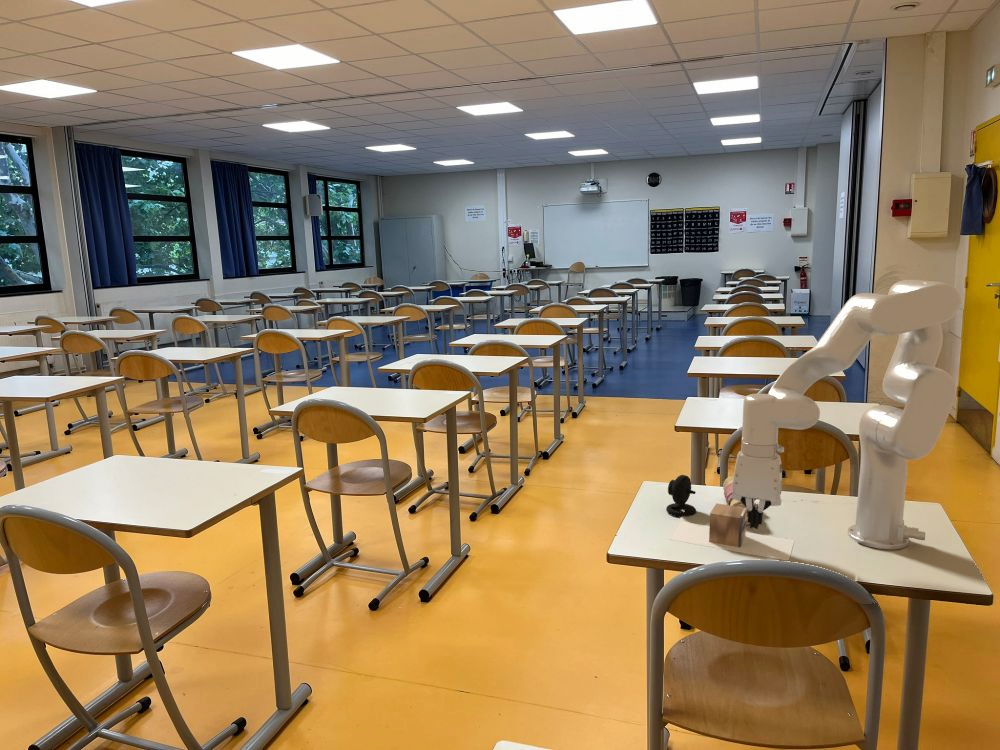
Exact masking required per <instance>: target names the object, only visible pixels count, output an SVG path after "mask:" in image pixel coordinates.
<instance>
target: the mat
mask: <svg viewBox="0 0 1000 750" xmlns="http://www.w3.org/2000/svg"><path fill="white" fill-rule="evenodd" d="M709 529H710V525H707V524H705V525H704V524H700V523H693V522H688V521H687V522H686V521H681V523H680V524H679V525H678V527H677V528H676V530H675V531H674V532H673V534H672V535H671V537H670V538H669V540H670V541H675V542H681V543H687V544H693V545H698V546H704V547H709V548H713V549H714V548H715V549H721V550H727V551H731V552H736V553H737V552H738V553H741V554H748V555H754V556H759V557H764V558H768V559H769V558H770V559H776V560H780V559H781V560H782V561H786V560H789V561H790V558H791V554H792V550H793V547H794V543H795V539H788V538H784V537H777V536H772V535H765V534H760V533H754V532H747V531H746V536H745V538H744V541H743V543H742V545H741V547H735V546H729V545H724V544H718V543H712V542H709Z"/></svg>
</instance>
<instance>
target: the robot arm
mask: <svg viewBox="0 0 1000 750" xmlns="http://www.w3.org/2000/svg"><path fill="white" fill-rule="evenodd" d="M961 301H962V299H961V294H960V292H959V291H958V289H957V288H956V287H954V286H953V285H951V284H949V283H946V282H942V281H931V280H921V279H903V280H900V281H897V282H895V283H893V284H892V285H891V286H890V288H889V290H888V293H887V294H882V293H873V292H862V293H861V292H860V293H857V294H855V295H853V296H851V297H850V298H849V299H848V300H847V301H846V303H845V304H844V305H843V306H842V308H841V309H840V311H838V313H837V315H836V316H835V318H834V319H833V321H831V323H830V325H829V326H828V328H827V329H826V330H825V332H824V333H823V334H822V335H821V336H820V338H819V340H818V341H817V343H816V344H815V345H814V346H813V347H812V348H810V349H809V350H808V351H806V352H805V353H803V354H802V355H801V356H800V357H798V358H797V359H795V360H793V362H792V363H791V364H789V365H788V366H787V367H786V368H784V370H783V371H782V372H781V373H780V375H779V376H778V377H777V379H776V381H775V382H774V383H773V384H772V386H771V387H770V389H769V391H768V393H751V394H747V395H746V396H745V398H744V399H743V409H742V427H741V428H742V429H741V445H740V448H741V449H740V450H739V451H738V453H737V455H736V460H735V464H734V470H733V471H734V472H733V476H734V478H733V493H732V496H731V497H732V498H733V499H735V500H738V501H741V502H742V503H743V504H744V506H745V507H746V508H747V510H748V523H750V525H749V528H750V529H756V530H758V529H759V527H760V525H761V526H762V524H763V517H764V516H763V515H764V511H765V510H767V509H768V508H769V507H778V506H782V497H781V494H782V489H783V488H782V487H783V482H782V481H783V474H782V473H783V467H782V460H781V455H780V453H784V452H785V446H782V445H780V444H778V443H779V442H778V441H779V440H778V438H779V437H778V436H779V429H780V428H782V429H789V430H802V431H803V430H807V429H810V428H812V427H813V426H815V425H816V424H817V423H818V422H819V420H820V417H821V411H820V407H819V404H817V402H815V401H814V400H813V398H811V397H808V396H806V395H805V393H806V391H807V390H808V389H809V388H810V387H812V386H813V384H815V383H816V382H817V381H819V380H821V379H822V378H824V377H827V376H831V375H833V374H837V373H840V372H843V371H845V370H847V369H849V368H850V367H851V366H852V365H853V364H854V363H855V361H856V360H857V358H859V356H860V354H861V353H862V351H864V349H865V347H866V346H867V344H869V342H870V340H872V338H873V337H874V336H875V335H878V336H885V337H886V336H895V335H898V340H897V342H896V343H897V344H896V347H895V349H894V351H893V354H892V356H891V359H890V362H889V364H888V366H887V369H886V372H885V374H884V376H883V380H882V385H881V386H882V387H881V388H882V391H883V393H884V395H886V396H887V397H888V398H889V399H891V400H893V401H896V402H898V403H901V404H902V405H905V406H904V408H903V409H901V408H898V407H896V406H892V405H888V404H878V405H873V406H871V407H869V408H868V409H866V410H865V411H864V412H863V414H862V415H861V417H860V420H859V425H858V434H859V437H858V438H859V442H860V467H859V476H858V477H859V479H858V489H857V491H858V492H857V500H856V501H857V503H856V517H855V524H853V525H851V526H849V527H848V529H847V536H848V537H849V538H850V539H851V540H853V541H855V542H857V544H860V545H863V546H865V547H870V548H874V549H879V550H900V549H904V548H906V547H908V546H909V542H910V539H915V540H919V541H926V531H921V530H920V531H919V527H918V528H917V527H911V526H909V527H908V526H907V525H906V524H905V521H904V512H905V511H904V510H905V501H906V500H905V499H906V489H907V482H908V481H907V478H908V472H909V471H908V470H909V469H908V460H914V461H915V460H921V459H922V458H924V457H926V456H928V455H929V454H930V453H931V452H932V450H934V448H935V447H936V445H937V443H938V441H939V439H940V437H941V434H942V432H943V429H944V427H945V424H946V422H947V420H948V417H949V415H950V413H951V410H952V408H953V405H954V402H955V398H956V389H957V388H956V383H955V381H954V379H953V377H952V376H951V375H950V373H948V372H947V371H946V370H945V369H943V368H939V367H936V365H937V362H938V359H939V356H940V353H941V350H942V348H943V344H944V343H943V342H944V341H943V340H944V334H943V333H944V332H943V328H942V327H943V326H942V324H943V323H946V322H947V321H950V319H952V318H954V316H955V315H956V314H957V313H958V312H959V310H960V307H961V303H962V302H961ZM753 499H756V500H759V502H758V505H757V507H756V506H755V502H754V500H753Z"/></svg>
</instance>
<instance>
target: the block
mask: <svg viewBox="0 0 1000 750" xmlns="http://www.w3.org/2000/svg"><path fill="white" fill-rule="evenodd" d="M746 517H747V508H743V507H737V506H730V505H727V504H721V503H715V505H714V506H713V508H712V509H711V512H709V526H710V529H709V542H712V543H718V544H724V545H729V546H735V547H741V545H742V543H743V541H744V538H745V536H746V532H747V524H746Z"/></svg>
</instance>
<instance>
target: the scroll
mask: <svg viewBox="0 0 1000 750" xmlns="http://www.w3.org/2000/svg"><path fill="white" fill-rule="evenodd" d="M733 478H734V475H733V476H729V477H726V478H725V480H723V484H722V488H723V496H724V498H725V502H726V505H730V506H737V507H743V508H746V507H745V506H744V504H743V503H742V502H741V501H738V500H735V499H733V498H732V497H731V496H732V493H733ZM753 500H754V503H755V501H756V500H757V499H753ZM749 524H750V523H748V510H747V517H746V525H749Z"/></svg>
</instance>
